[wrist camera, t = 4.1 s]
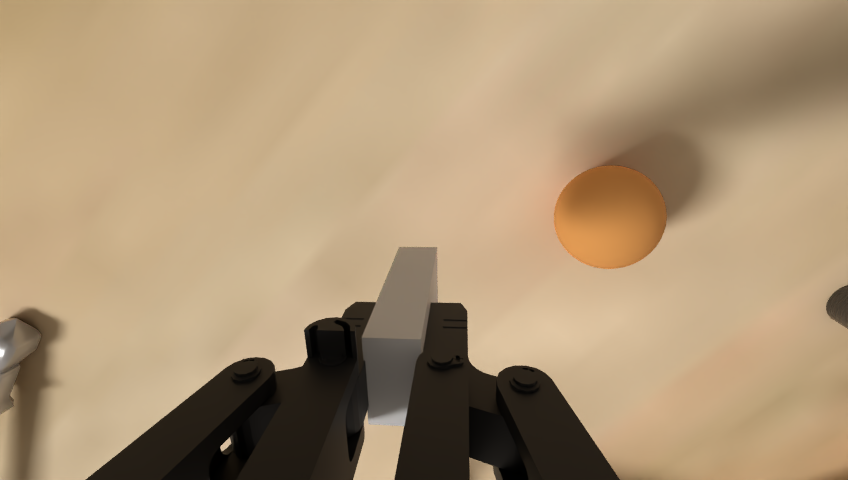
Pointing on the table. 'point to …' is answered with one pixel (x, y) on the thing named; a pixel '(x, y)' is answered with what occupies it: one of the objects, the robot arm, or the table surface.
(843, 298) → the post
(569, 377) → the table surface
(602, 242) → the ball
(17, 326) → the hammer
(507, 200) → the table surface
